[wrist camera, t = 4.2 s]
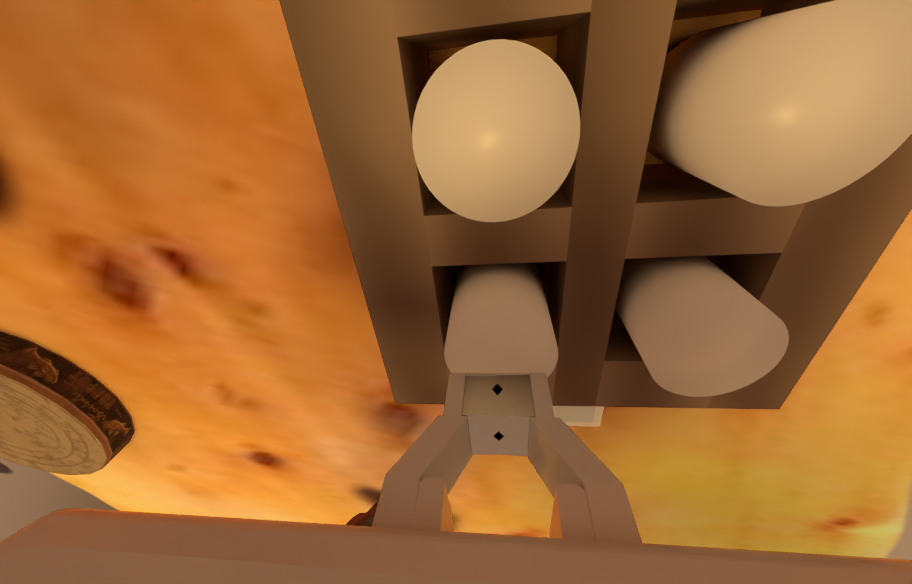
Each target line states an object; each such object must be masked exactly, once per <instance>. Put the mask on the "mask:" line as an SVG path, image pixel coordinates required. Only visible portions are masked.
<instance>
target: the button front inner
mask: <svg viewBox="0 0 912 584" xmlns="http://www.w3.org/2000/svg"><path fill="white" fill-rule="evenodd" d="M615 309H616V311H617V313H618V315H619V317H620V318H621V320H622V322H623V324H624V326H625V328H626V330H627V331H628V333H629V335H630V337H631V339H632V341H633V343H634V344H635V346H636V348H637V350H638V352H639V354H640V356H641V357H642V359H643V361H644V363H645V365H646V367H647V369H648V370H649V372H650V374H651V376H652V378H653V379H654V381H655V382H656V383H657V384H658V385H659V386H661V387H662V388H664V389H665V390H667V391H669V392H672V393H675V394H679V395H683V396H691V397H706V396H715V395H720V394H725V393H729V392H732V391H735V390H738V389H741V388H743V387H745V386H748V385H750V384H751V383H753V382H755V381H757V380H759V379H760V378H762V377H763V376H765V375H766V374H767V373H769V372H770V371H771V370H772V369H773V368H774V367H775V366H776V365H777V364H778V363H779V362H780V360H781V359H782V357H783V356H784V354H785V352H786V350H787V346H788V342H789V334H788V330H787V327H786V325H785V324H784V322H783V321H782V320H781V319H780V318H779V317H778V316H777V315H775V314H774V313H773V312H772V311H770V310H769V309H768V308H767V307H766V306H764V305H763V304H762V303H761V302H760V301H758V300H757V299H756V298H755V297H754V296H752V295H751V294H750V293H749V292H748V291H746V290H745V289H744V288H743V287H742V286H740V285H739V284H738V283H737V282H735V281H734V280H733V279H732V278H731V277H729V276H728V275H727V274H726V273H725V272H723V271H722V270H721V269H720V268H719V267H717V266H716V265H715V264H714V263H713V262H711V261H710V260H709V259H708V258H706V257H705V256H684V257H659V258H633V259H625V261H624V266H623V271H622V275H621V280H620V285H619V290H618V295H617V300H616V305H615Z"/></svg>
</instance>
